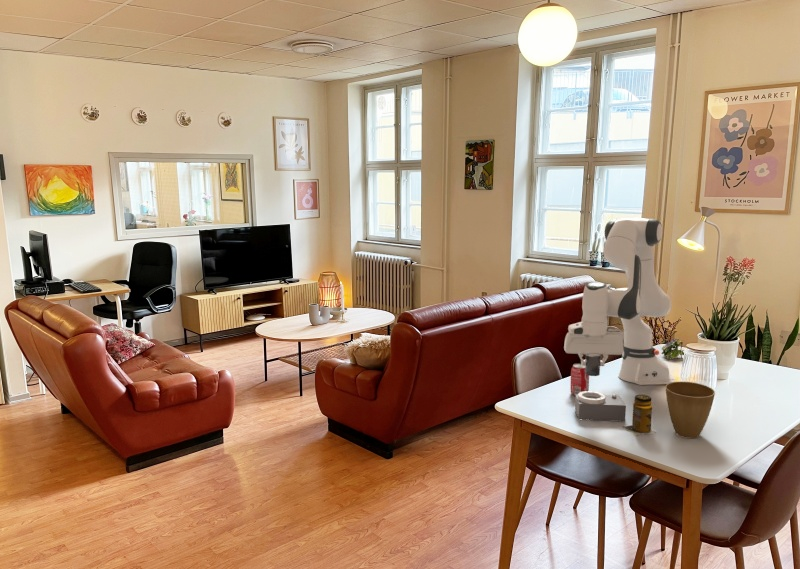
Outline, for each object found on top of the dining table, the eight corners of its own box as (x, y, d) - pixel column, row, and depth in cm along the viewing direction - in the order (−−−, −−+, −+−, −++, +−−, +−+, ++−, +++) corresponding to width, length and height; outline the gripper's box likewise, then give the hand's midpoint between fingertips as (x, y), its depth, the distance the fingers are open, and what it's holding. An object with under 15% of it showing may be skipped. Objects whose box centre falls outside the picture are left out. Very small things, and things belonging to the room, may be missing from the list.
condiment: (656, 432, 204) (658, 399, 202) (634, 435, 202) (635, 401, 200) (643, 424, 211) (644, 392, 209) (621, 427, 209) (623, 394, 207)
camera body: (619, 411, 224) (620, 391, 222) (625, 421, 214) (626, 401, 213) (575, 409, 226) (575, 390, 225) (578, 419, 216) (579, 399, 215)
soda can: (586, 391, 245) (587, 363, 243) (590, 397, 238) (591, 368, 236) (568, 391, 246) (569, 362, 244) (571, 397, 239) (572, 368, 237)
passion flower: (665, 366, 294) (665, 343, 299) (688, 366, 287) (689, 342, 292) (657, 357, 287) (658, 334, 291) (682, 357, 280) (682, 333, 285)
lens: (598, 372, 220) (599, 350, 218) (600, 376, 215) (601, 354, 214) (584, 371, 221) (584, 350, 219) (586, 375, 216) (587, 354, 214)
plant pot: (657, 424, 211) (659, 381, 208) (701, 425, 209) (704, 381, 206) (671, 442, 196) (674, 396, 193) (719, 444, 194) (722, 396, 192)
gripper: (622, 326, 217) (620, 363, 219) (564, 325, 220) (562, 362, 222) (626, 330, 210) (624, 369, 213) (566, 329, 213) (565, 367, 216)
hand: (592, 365), depth 217 cm, fingers closed on lens, 5 cm apart
